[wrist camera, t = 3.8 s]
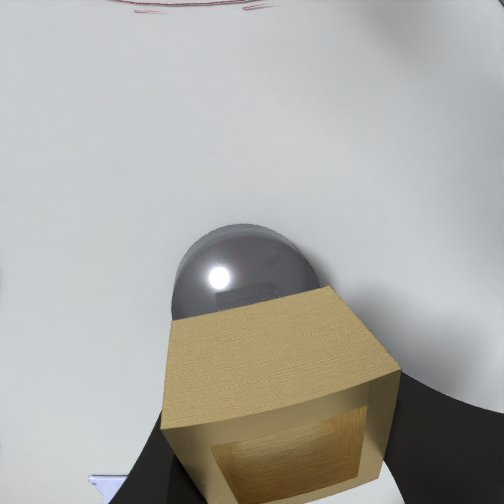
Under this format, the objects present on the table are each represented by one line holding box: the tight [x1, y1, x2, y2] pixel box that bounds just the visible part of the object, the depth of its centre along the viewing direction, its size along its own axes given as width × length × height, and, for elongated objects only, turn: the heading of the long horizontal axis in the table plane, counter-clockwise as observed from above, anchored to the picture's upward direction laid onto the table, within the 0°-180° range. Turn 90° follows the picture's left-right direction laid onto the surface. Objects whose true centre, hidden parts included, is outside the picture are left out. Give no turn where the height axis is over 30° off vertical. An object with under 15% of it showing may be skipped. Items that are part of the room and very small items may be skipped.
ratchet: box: [171, 224, 320, 321], centre depth 17 cm, size 19×7×6 cm, turn 10°
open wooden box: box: [161, 286, 402, 504], centre depth 9 cm, size 5×5×4 cm
